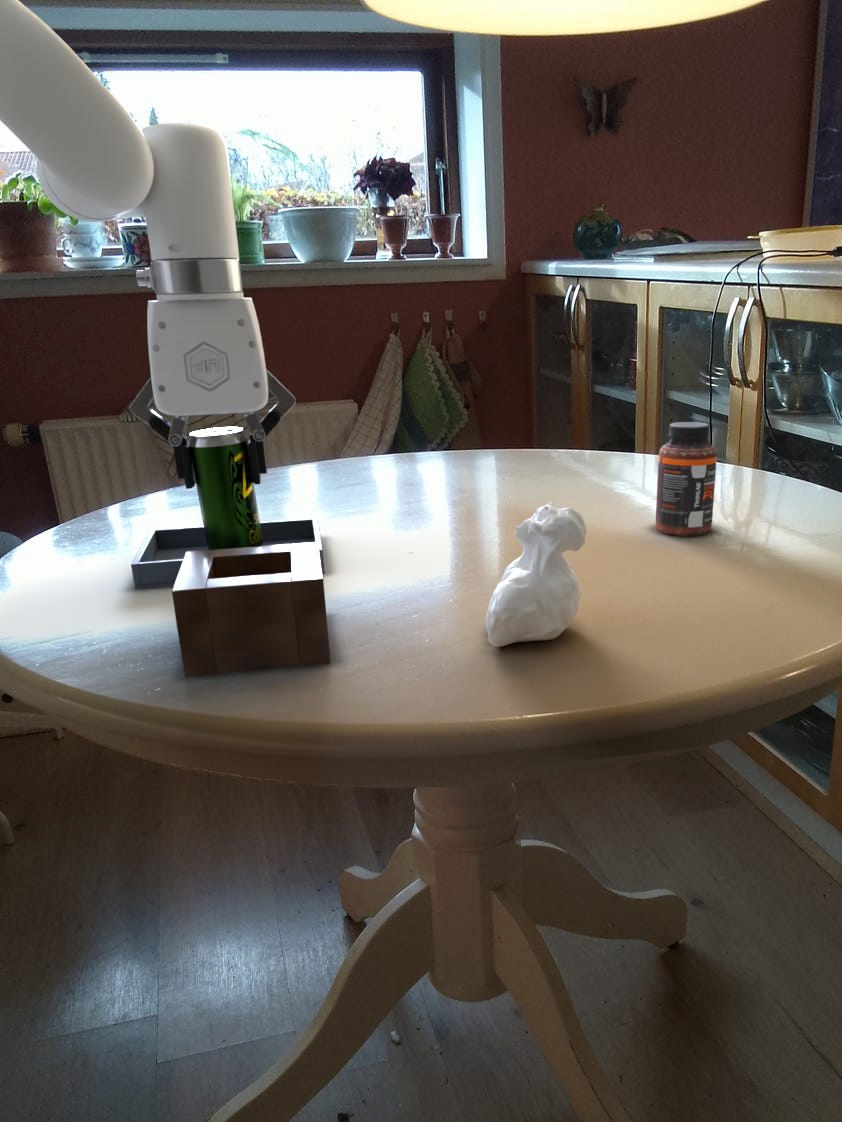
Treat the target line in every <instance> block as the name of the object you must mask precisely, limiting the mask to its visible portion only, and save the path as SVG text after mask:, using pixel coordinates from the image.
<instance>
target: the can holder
mask: <svg viewBox="0 0 842 1122" xmlns="http://www.w3.org/2000/svg"><path fill="white" fill-rule="evenodd" d="M324 582H325V581H324V574H322V567H321V559H320V552H319V545H318V542H312V543H299V544H285V545H272V546H258V547H245V548H232V549H218V550H205V551H192V552H186V554H185V556H184V559H183V562H182V565H181V567H180V570H179V573H178V576H177V578H176V581H175V584H174V586H172V589H171V597H172V602H173V603H172V604H173V610H174V616H175V623H176V630H177V637H178V642H179V643H178V644H179V648H180V655H181V663H182V669H183V674H184V675H183V676H184V677H185V678H187V677H199V676H208V675H209V676H210V675H219V674H228V673H241V672H250V671H260V670H261V671H262V670H269V669H271V670H272V669H280V668H290V667H291V668H292V667H299V666H300V667H301V666H312V665H320V664H321V665H322V664H330V663H331V661H332V660H331V650H330V639H329V637H330V636H329V626H328V615H327V605H326V595H325V583H324Z"/></svg>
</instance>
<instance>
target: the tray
mask: <svg viewBox="0 0 842 1122" xmlns="http://www.w3.org/2000/svg"><path fill="white" fill-rule="evenodd" d="M260 526H261V533H262V539H263V546H272V545H285V544H299V543H312V542H318V545H319V552H320V559H321V567H322V574H323V575H325V574H326V573H325V572H326V571H325V563H324V562H325V561H324V560H325V559H324V550H323V542H322V537H321V530H320V524H319V518H318V517H313V518H312V517H309V518H298V519H284V520H269V521H267V520H266V521H260ZM205 550H208V547H207V541H206V536H205V530H204V525H199V526H198V525H197V526H184V527H183V526H182V527H167V528H157V529H156V528H155V529H150V530H149V531H148V533H147V535H146V537H145V539H144V540H143V542H142V544H141V546H140V547H139V549H138V551H137V553H136V555H135V557H134V559H133V560H132V562H131V564H130V567H131V572H132V573H131V574H132V579H133V585H134V589H135V590H142V589H155V588H166V587H173V586H174V584H175V581H176V578H177V576H178V573H179V570H180V567H181V565H182V562H183V559H184V556H185V554H186V552H192V551H205Z"/></svg>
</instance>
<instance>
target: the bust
mask: <svg viewBox="0 0 842 1122" xmlns="http://www.w3.org/2000/svg"><path fill="white" fill-rule="evenodd" d="M585 522H586V521H585V520H584V517H583V515H582V514H581V513H580V512H579V511H578V510H576V509H575V508H573V507H564V508H563V507H560V504H558V503H556V504H555V503H554V502H552V501H550V502H548V504H546V505H543V506H540V507H537V508H536V510H535V512H534V513H533V514H532V516H530V517H528V519H524V521H523V522H522V523H521V524H520V525H517V526H516V528H515V533H514V537H515V538H516V539H517V541H518V543H519V544H520V545H521V546H522V548H523V552H522V554H521V555H520V556H519V557H518V558H516V559H515V560H513V561H512V562H511V563H509V565H508V566H507V567H505V570H504V572H503V575H502V578H501V579H500V580H499V582H498V583H497V585H496V588H495V589H494V590H493V593H492V595H491V598H490V601H489V604H488V608H487V612H486V616H485V627H486V629H485V630H486V632H487V635H488V642H489V643H490V645H491V646H493V647H495V648H500V647H504V646H508V645H511V644H514V643H525V642H537V641H550V640H551V641H552V640H554V639H556V638H557V637H559V636H560V635H561V634H562V633H563V632H564V631H565V630H566V629H567V627H568V626H570V625H571V624H572V622H573V621H574V619H575V617H576V615H577V613H578V611H579V605H580V599H581V592H580V591H581V590H580V589H579V581H578V577H577V575H576V573H575V571H573V569H572V566H571V564H570V561H569V560H568V558H567V557H566V556H565V555H564V554H563V553H565V552H567V551H568V552H569V551H573V552H577V551H579V550H580V549H581V548H582V547H583V546H584V544H585V543H586V534H587V526H586V523H585Z"/></svg>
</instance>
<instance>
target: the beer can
mask: <svg viewBox="0 0 842 1122" xmlns="http://www.w3.org/2000/svg"><path fill="white" fill-rule="evenodd" d="M189 438H190V440H189V443H190V444H189V447H190V452H191V458H192V463H193V469H194V475H195V480H196V484H195V486H196V491H197V496H198V503H199V508H200V513H201V519H202V524H203V525H202V526H204V530H205V536H206V541H207V547H208V550H218V549H232V548H245V547H258V546H263V539H262V533H261V526H260V522H261V520H260V514H259V507H258V501H257V494H256V489H255V483H252V475H251V466H250V458H249V449H248V438H247V437H246V435H245V434H244V428H243V427H238V426H223V427H213V428H212V427H211V428H206V429H200V430H195V431H192V432H190V433H189Z"/></svg>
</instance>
